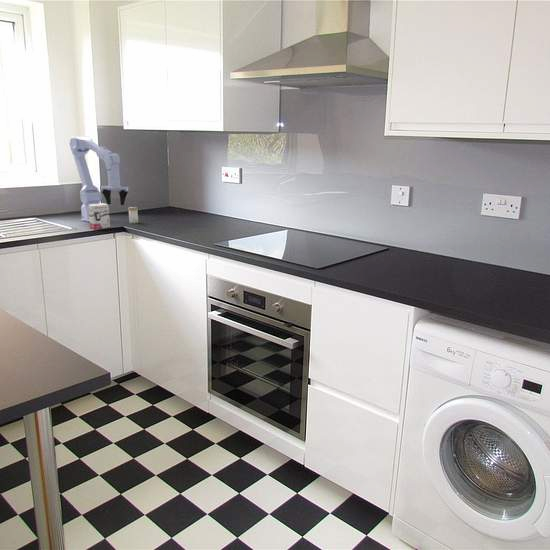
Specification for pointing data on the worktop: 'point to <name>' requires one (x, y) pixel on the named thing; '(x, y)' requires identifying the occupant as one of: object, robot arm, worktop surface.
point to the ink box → (99, 216)
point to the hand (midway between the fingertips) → (115, 204)
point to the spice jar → (133, 215)
